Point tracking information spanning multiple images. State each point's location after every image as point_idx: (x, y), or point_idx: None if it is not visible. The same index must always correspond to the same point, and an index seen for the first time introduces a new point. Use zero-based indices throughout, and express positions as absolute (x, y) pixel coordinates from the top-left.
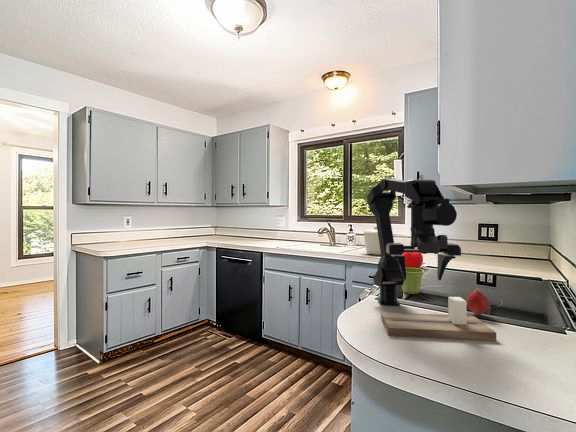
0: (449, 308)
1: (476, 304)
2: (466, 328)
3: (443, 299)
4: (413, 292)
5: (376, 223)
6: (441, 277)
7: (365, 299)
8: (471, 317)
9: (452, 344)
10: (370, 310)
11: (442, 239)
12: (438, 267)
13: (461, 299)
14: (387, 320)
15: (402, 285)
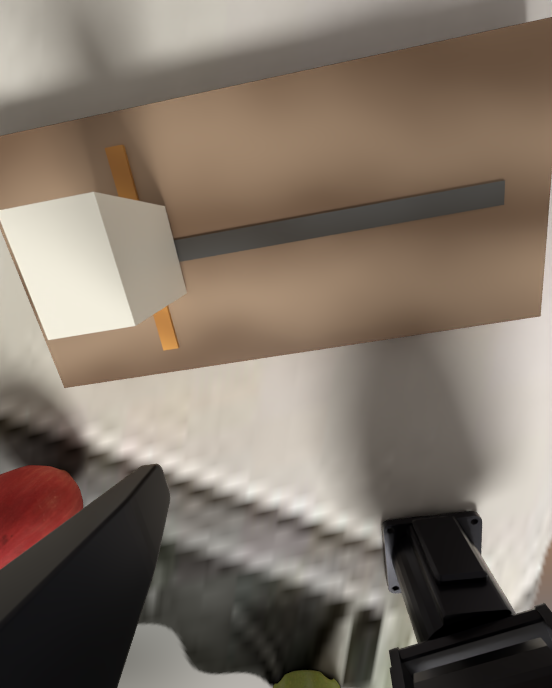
0: (159, 284)
1: (26, 483)
2: (105, 149)
3: (184, 630)
4: (300, 677)
5: None
6: (118, 484)
7: (534, 567)
8: (75, 359)
9: (203, 21)
10: (543, 422)
11: None
12: (91, 680)
13: (37, 265)
14: (536, 169)
15: None
